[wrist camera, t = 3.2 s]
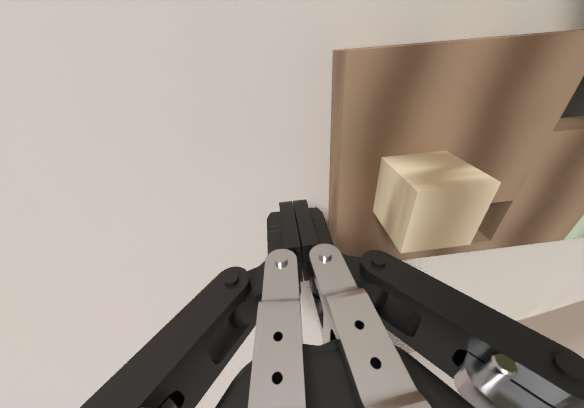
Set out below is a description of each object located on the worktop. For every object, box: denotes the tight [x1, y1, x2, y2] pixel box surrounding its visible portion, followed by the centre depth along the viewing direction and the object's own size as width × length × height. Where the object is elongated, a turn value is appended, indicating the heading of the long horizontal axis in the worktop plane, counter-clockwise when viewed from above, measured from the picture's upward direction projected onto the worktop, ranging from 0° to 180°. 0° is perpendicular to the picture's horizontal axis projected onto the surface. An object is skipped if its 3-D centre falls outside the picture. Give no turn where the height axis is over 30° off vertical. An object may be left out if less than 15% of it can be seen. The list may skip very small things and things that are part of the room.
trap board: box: [328, 29, 584, 260], centre depth 17 cm, size 27×15×2 cm, turn 94°
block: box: [373, 151, 501, 253], centre depth 13 cm, size 4×4×4 cm
